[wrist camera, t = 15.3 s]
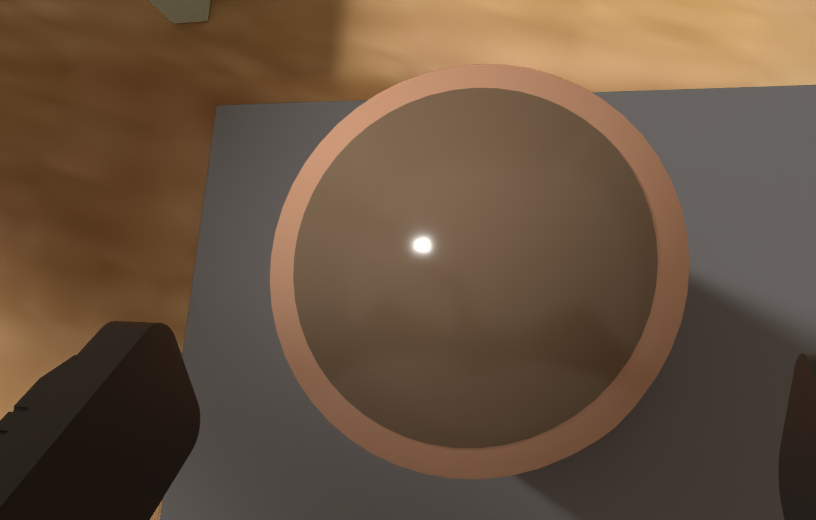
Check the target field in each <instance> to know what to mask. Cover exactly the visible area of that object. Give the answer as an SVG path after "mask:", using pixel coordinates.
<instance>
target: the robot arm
mask: <svg viewBox="0 0 816 520" xmlns="http://www.w3.org/2000/svg"><path fill="white" fill-rule="evenodd" d="M199 429H200V408H199V404H198V401H197V398H196V395H195V392H194V389H193V387H192V384H191V381H190V378H189V375H188V372H187V370H186V367H185V364H184V361H183V358H182V355H181V353H180V350H179V347H178V344H177V341H176V338H175V336H174V334H173V332H172V330H171V329H170V328H169V327H168V326H167V325H165V324H163V323H148V322H125V321H112V322H109V323H107V324H106V325H104V326H103V327H102V328H101V329H100V330H99V331H98V333H97V334H96V335H95V336H94V337H93V338H92V339H91V340H90V341H89V342H88V344H87V345H86V346H85V347H84V348H83V349H82V350H81V351H80V352H79V353H78V355H74V356H73V357H71V358H70V359H68V360H67V361H65V362H64V363H62V364H61V365H59V366H58V367H56V368H55V369H53V370H52V371H50V372H49V373H47V374H46V375H44V376H43V377H41V378H40V379H39V380H38V381H37V382H36V383H35V384H34V385H33V386H32V387H31V389H30V390H29V391H28V392H27V393H26V394H25V395H24V396H23V397H22V398H21V399H20V400H19V401H18V402H17V403H16V405H15V406H14V411H13V412H8V413H7V414H6V415H5V416H4V417H3V418H2V420H1V421H0V520H150V518H151V516H152V515H153V513H154V512H155V510H156V508H157V507H158V505H159V503H160V502H161V500H162V499H163V497H164V495H165V494H166V492H167V491H168V489H169V487H170V486H171V484H172V482H173V481H174V479H175V478H176V476H177V474H178V473H179V471H180V470H181V468H182V466H183V465H184V463H185V461H186V460H187V458H188V457H189V455H190V453H191V452H192V450H193V448H194V446H195V444H196V441H197V438H198V434H199ZM778 476H779V492H780V500H781V506H782V510H783V515H784V520H816V354H809V353H801V354H800V355H799V356H798V358H797V360H796V364H795V368H794V373H793V379H792V384H791V390H790V395H789V401H788V406H787V412H786V417H785V423H784V428H783V434H782V439H781V445H780V451H779V465H778Z"/></svg>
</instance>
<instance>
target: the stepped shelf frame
mask: <svg viewBox="0 0 816 520" xmlns="http://www.w3.org/2000/svg"><path fill="white" fill-rule="evenodd" d="M149 1H150V2H151V3H152V4H153V5H154V6H155V7H156V8H157V9H158V10H159V11H160V12H161V13H162V14H163V15H164V16H165V17H167V18H168V19H169V20H170V21H171V22H172V23H173V24H174V23H189V22H204V21H208V16H209V9H210V2H211V0H149Z"/></svg>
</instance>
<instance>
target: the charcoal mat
mask: <svg viewBox="0 0 816 520" xmlns="http://www.w3.org/2000/svg"><path fill="white" fill-rule="evenodd" d="M593 94H595V95H597V96H598V97H600V98H602V99H603V100H604V101H606V102H607V103H608V104H609V105H611V106H612V107H613V108H615V109H616V110H617V111H619V112H620V113H621V114H622V115H623V116H624V117H625V118H626V119H627V120H628V121H629V122H630V123H631V124H632V125H633V126H634V127H635V128H636V129H637V130H638V131H639V132H640V133H641V134H642V135H643V136H644V138H645V139H646V140H647V142H648V143H649V144H650V146H651V147H652V149H653V150H654V151H655V153H656V154H657V155H658V157H659V159H660V160H661V162H662V164H663V166H664V168H665V170H666V171H667V173H668V175H669V177H670V179H671V181H672V183H673V186H674V189H675V191H676V194H677V197H678V199H679V202H680V205H681V208H682V212H683V217H684V221H685V226H686V231H687V236H688V249H689V263H690V264H689V279H688V293H687V298H686V302H685V307H684V312H683V317H682V321H681V324H680V327H679V330H678V332H677V335H676V338H675V341H674V343H673V346H672V349H671V351H670V353H669V355H668V357H667V359H666V360H665V362H664V364H663V366H662V368H661V370H660V372H659V374H658V375H657V377H656V378H655V380H654V381H653V383H652V384H651V385H650V387H649V388H648V389H647V391H646V392H645V394H644V395H643V396H642V398H641V399H640V400H639V402H638V403H637V404H636V405H635V407H634V408H633V409H632V410H631V412H630V413H629V414H628V415H627V416H626V417H625V418H624V419H623V420H622V421H621V422H620V424H619V425H618V426H617V427H616V428H614V429H613V430H612V431H611V432H609V433H608V434H607V435H606V436H604V437H603V438H602V439H600V440H598V441H597V442H595V443H593V444H591V445H590V446H588V447H586V448H584V449H582V450H580V451H578V452H576V453H574V454H572V455H571V456H569V457H566V458H564V459H561V460H559V461H557V462H554V463H552V464H549V465H547V466H544V467H542V468H539V469H535V470H532V471H528V472H524V473H520V474H516V475H512V476H505V477H496V478H488V479H453V478H446V477H440V476H434V475H428V474H423V473H420V472H417V471H413V470H410V469H407V468H403V467H400V466H397V465H395V464H393V463H391V462H389V461H386V460H384V459H382V458H380V457H378V456H376V455H374V454H372V453H370V452H369V451H367V450H365V449H364V448H362V447H361V446H359V445H358V444H356V443H355V442H353V441H351V440H350V439H349V438H347V437H346V436H345V435H344V434H343V433H342V432H340V431H339V430H338V429H337V428H336V427H335V426H333V425H332V424H331V423H330V422H329V421H328V420H327V419H326V418H325V417H324V415H323V414H322V413H321V412H320V411H319V410H318V409H317V408H316V406H315V405H314V404H313V403H312V402H311V401H310V399H309V398H308V396H307V395H306V393H305V392H304V390H303V389H302V387H301V386H300V384H299V383H298V381H297V380H296V378H295V376H294V374H293V372H292V370H291V368H290V366H289V364H288V361H287V359H286V357H285V355H284V352H283V349H282V346H281V343H280V340H279V337H278V334H277V331H276V326H275V321H274V316H273V311H272V305H271V292H270V267H271V254H272V248H273V242H274V236H275V231H276V228H277V224H278V221H279V218H280V214H281V211H282V208H283V205H284V203H285V201H286V198H287V196H288V194H289V191H290V189H291V187H292V184H293V183H294V181H295V179H296V178H297V176H298V174H299V172H300V171H301V169H302V167H303V165H304V164H305V162H306V161H307V159H308V158H309V157H310V155H311V154H312V153H313V151H314V150H315V149H316V147H317V146H318V145H319V143H320V142H321V141H322V140H323V139H324V138H325V137H326V136H327V135H328V134H329V133H330V132H331V130H332V129H333V128H334V127H335V126H336V125H337V124H338V123H339V122H341V121H342V120H343V119H344V118H345V117H347V116H348V115H349V114H350V113H351V112H352V111H354V110H355V109H356V108H357V107H359V106H360V105H362V104H363V103H365V102H366V101H368V100H357V101H328V102H299V103H269V104H240V105H217V108H216V115H215V122H214V130H213V137H212V144H211V151H210V159H209V166H208V173H207V181H206V188H205V195H204V202H203V210H202V217H201V224H200V232H199V239H198V246H197V254H196V261H195V268H194V275H193V283H192V290H191V297H190V305H189V312H188V319H187V326H186V334H185V341H184V348H183V356H182V358H183V361H184V364H185V367H186V370H187V372H188V375H189V378H190V381H191V384H192V387H193V389H194V392H195V395H196V398H197V401H198V404H199V408H200V429H199V434H198V438H197V441H196V444H195V446H194V448H193V450H192V452H191V453H190V455H189V457H188V458H187V460H186V461H185V463H184V465H183V466H182V468H181V470H180V471H179V473H178V474H177V476H176V478H175V479H174V481H173V482H172V484H171V486H170V487H169V489H168V491H167V492H166V494H165V495H164V497H163V501H162V509H161V516H160V520H784V515H783V510H782V506H781V500H780V492H779V476H778V465H779V451H780V445H781V439H782V434H783V428H784V423H785V417H786V412H787V406H788V401H789V395H790V390H791V384H792V379H793V373H794V368H795V364H796V360H797V358H798V356H799V355H800V354H801V353H809V354H816V85H799V86H769V87H740V88H710V89H681V90H652V91H622V92H593Z"/></svg>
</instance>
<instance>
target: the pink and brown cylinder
mask: <svg viewBox="0 0 816 520" xmlns="http://www.w3.org/2000/svg"><path fill="white" fill-rule="evenodd" d="M689 264H690V263H689V249H688V236H687V231H686V226H685V221H684V217H683V212H682V208H681V205H680V202H679V199H678V197H677V194H676V191H675V189H674V186H673V183H672V181H671V179H670V177H669V175H668V173H667V171H666V170H665V168H664V166H663V164H662V162H661V160H660V159H659V157H658V155H657V154H656V153H655V151H654V150H653V149H652V147H651V146H650V144H649V143H648V142H647V140H646V139H645V138H644V136H643V135H642V134H641V133H640V132H639V131H638V130H637V129H636V128H635V127H634V126H633V125H632V124H631V123H630V122H629V121H628V120H627V119H626V118H625V117H624V116H623V115H622V114H621V113H620V112H619V111H617V110H616V109H615V108H613V107H612V106H611V105H609V104H608V103H607V102H606V101H604V100H603V99H602V98H600V97H598V96H597V95H595V94H593V93H591V92H590V91H588V90H586V89H584V88H583V87H581V86H579V85H577V84H575V83H572V82H570V81H567V80H565V79H563V78H560V77H558V76H555V75H552V74H549V73H545V72H541V71H537V70H534V69H530V68H524V67H517V66H509V65H496V64H475V65H466V66H457V67H449V68H445V69H441V70H437V71H432V72H428V73H424V74H422V75H419V76H416V77H414V78H411V79H408V80H405V81H403V82H400V83H398V84H396V85H394V86H392V87H390V88H388V89H386V90H384V91H382V92H380V93H378V94H377V95H375V96H374V97H372V98H371V99H369V100H368V101H366V102H365V103H363V104H362V105H360V106H359V107H357V108H356V109H355V110H354V111H352V112H351V113H350V114H349V115H348V116H347V117H345V118H344V119H343V120H342V121H341V122H339V123H338V124H337V125H336V126H335V127H334V128H333V129H332V130H331V132H330V133H329V134H328V135H327V136H326V137H325V138H324V139H323V140H322V141H321V142H320V143H319V145H318V146H317V147H316V149H315V150H314V151H313V153H312V154H311V155H310V157H309V158H308V159H307V161H306V162H305V164H304V165H303V167H302V169H301V171H300V172H299V174H298V176H297V178H296V179H295V181H294V183H293V184H292V187H291V189H290V191H289V194H288V196H287V198H286V201H285V203H284V205H283V208H282V211H281V214H280V218H279V221H278V224H277V228H276V231H275V236H274V242H273V248H272V254H271V267H270V292H271V305H272V311H273V316H274V321H275V326H276V331H277V334H278V337H279V340H280V343H281V346H282V349H283V352H284V355H285V357H286V359H287V361H288V364H289V366H290V368H291V370H292V372H293V374H294V376H295V378H296V380H297V381H298V383H299V384H300V386H301V387H302V389H303V390H304V392H305V393H306V395H307V396H308V398H309V399H310V401H311V402H312V403H313V404H314V405H315V406H316V408H317V409H318V410H319V411H320V412H321V413H322V414H323V415H324V417H325V418H326V419H327V420H328V421H329V422H330V423H331V424H332V425H333V426H335V427H336V428H337V429H338V430H339V431H340V432H342V433H343V434H344V435H345V436H346V437H347V438H349V439H350V440H351V441H353V442H355V443H356V444H358V445H359V446H361V447H362V448H364V449H365V450H367V451H369V452H370V453H372V454H374V455H376V456H378V457H380V458H382V459H384V460H386V461H389V462H391V463H393V464H395V465H397V466H400V467H403V468H407V469H410V470H413V471H417V472H420V473H423V474H428V475H434V476H440V477H446V478H453V479H488V478H496V477H505V476H512V475H516V474H520V473H524V472H528V471H532V470H535V469H539V468H542V467H544V466H547V465H549V464H552V463H554V462H557V461H559V460H561V459H564V458H566V457H569V456H571V455H572V454H574V453H576V452H578V451H580V450H582V449H584V448H586V447H588V446H590V445H591V444H593V443H595V442H597V441H598V440H600V439H602V438H603V437H604V436H606V435H607V434H608V433H609V432H611V431H612V430H613V429H614V428H616V427H617V426H618V425H619V424H620V422H621V421H622V420H623V419H624V418H625V417H626V416H627V415H628V414H629V413H630V412H631V410H632V409H633V408H634V407H635V405H636V404H637V403H638V402H639V400H640V399H641V398H642V396H643V395H644V394H645V392H646V391H647V389H648V388H649V387H650V385H651V384H652V383H653V381H654V380H655V378H656V377H657V375H658V374H659V372H660V370H661V368H662V366H663V364H664V362H665V360H666V359H667V357H668V355H669V353H670V351H671V349H672V346H673V343H674V341H675V338H676V335H677V332H678V330H679V327H680V324H681V321H682V317H683V312H684V307H685V302H686V298H687V293H688V279H689Z"/></svg>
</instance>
